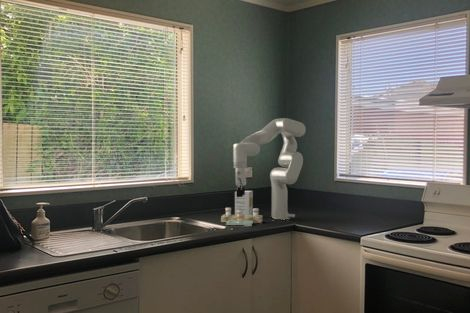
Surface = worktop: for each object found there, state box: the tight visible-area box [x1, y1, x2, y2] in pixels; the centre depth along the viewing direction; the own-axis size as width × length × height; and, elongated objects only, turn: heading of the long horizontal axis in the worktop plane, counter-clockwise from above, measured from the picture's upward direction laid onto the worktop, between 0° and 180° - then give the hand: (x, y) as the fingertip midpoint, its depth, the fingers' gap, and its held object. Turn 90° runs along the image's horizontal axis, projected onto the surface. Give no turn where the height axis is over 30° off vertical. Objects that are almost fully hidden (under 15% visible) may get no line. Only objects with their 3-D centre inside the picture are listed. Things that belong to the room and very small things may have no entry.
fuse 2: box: [253, 207, 260, 217], centre depth 273 cm, size 3×3×8 cm
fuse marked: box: [237, 210, 243, 223], centre depth 265 cm, size 3×3×8 cm
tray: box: [225, 220, 254, 227], centre depth 265 cm, size 14×9×2 cm, turn 82°
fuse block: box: [220, 214, 264, 224], centre depth 275 cm, size 23×8×4 cm, turn 82°
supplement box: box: [234, 190, 254, 215], centre depth 292 cm, size 10×9×17 cm
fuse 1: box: [225, 207, 232, 216], centre depth 276 cm, size 3×3×8 cm
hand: (240, 195), depth 265 cm, fingers open, 9 cm apart
